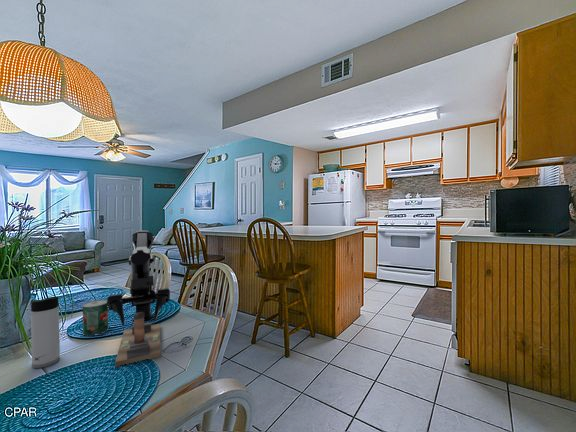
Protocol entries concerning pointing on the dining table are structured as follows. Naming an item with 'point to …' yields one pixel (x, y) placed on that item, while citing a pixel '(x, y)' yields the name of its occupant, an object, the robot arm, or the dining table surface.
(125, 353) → the press base
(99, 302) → the canned tomato
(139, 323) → the handle
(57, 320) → the travel mug
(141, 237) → the robot arm
